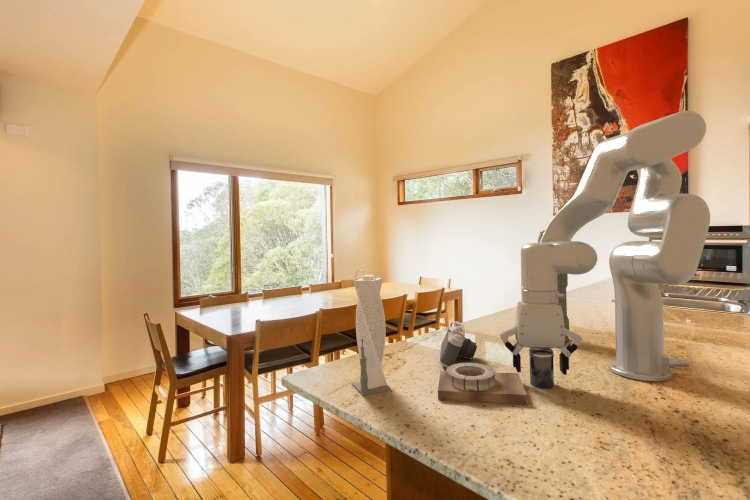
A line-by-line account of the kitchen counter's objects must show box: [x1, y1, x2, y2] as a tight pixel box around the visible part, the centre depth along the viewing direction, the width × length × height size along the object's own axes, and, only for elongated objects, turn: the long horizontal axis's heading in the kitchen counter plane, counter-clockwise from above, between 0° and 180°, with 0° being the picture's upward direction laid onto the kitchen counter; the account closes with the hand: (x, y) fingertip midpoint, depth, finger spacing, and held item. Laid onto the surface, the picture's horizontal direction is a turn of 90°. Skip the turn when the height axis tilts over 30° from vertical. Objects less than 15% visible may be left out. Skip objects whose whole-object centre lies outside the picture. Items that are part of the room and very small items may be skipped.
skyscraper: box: [351, 267, 392, 396], centre depth 89 cm, size 8×8×28 cm
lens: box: [528, 348, 555, 390], centre depth 86 cm, size 5×5×8 cm
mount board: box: [437, 362, 528, 405], centre depth 84 cm, size 18×12×4 cm, turn 77°
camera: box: [438, 320, 478, 368], centre depth 105 cm, size 9×16×10 cm, turn 170°
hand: (540, 371), depth 86 cm, fingers open, 9 cm apart
